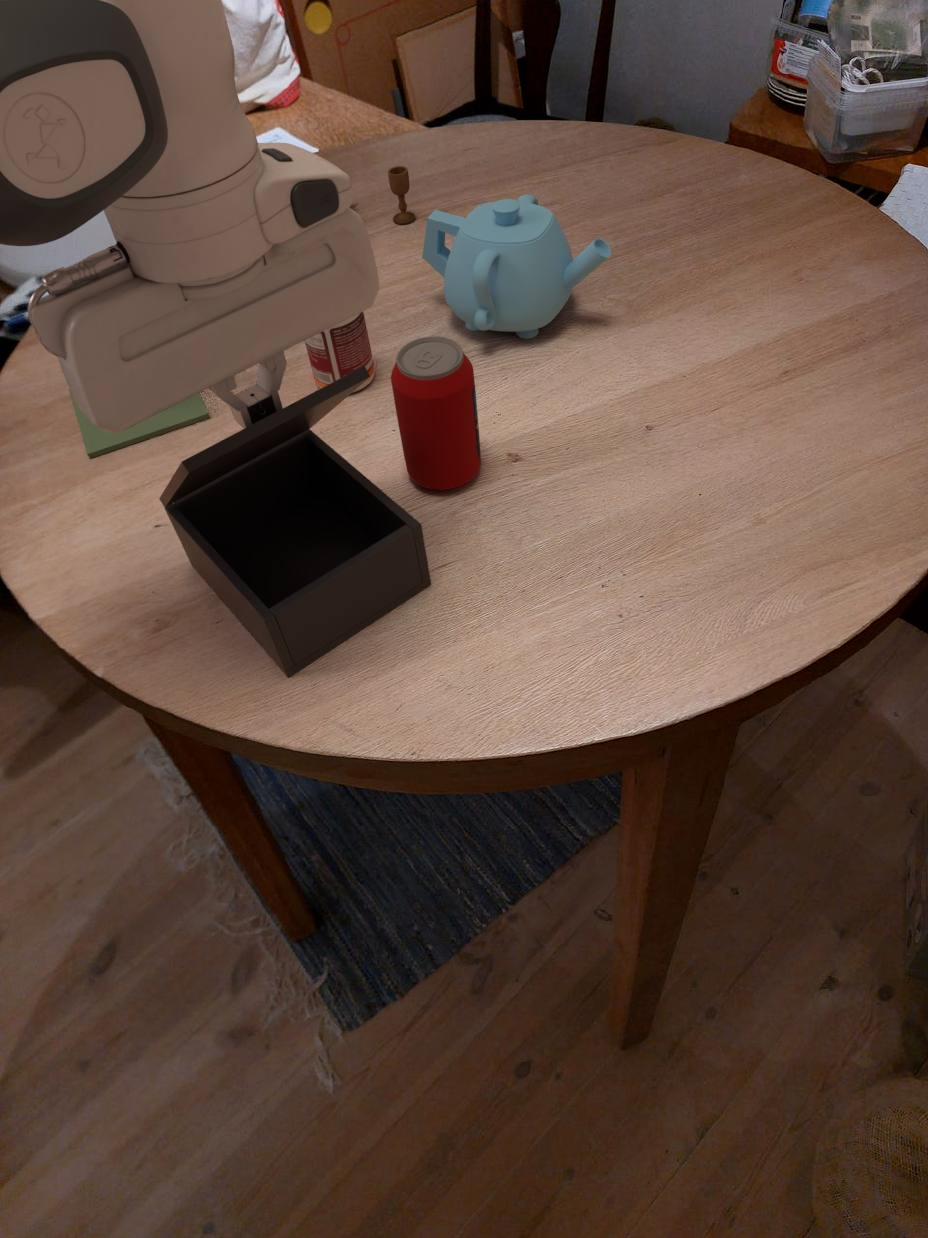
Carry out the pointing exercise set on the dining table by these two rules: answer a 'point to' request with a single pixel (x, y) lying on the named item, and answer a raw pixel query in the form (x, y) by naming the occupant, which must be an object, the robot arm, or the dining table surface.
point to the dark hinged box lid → (259, 438)
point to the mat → (140, 426)
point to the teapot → (507, 264)
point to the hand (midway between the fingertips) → (259, 416)
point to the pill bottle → (341, 351)
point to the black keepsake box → (301, 549)
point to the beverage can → (437, 412)
